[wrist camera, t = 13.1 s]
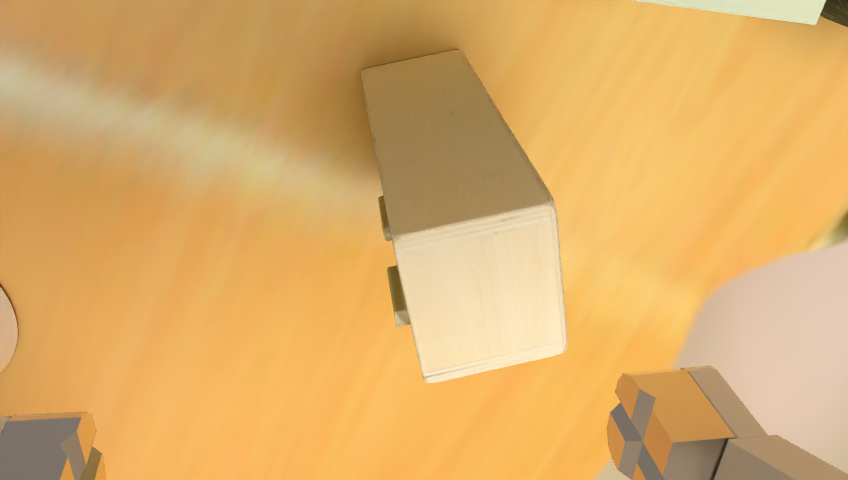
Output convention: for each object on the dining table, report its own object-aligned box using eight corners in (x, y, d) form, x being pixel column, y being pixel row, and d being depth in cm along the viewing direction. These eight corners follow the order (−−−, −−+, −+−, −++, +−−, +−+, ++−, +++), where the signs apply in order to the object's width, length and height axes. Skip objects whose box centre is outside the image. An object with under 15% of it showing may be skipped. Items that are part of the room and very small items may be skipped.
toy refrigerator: (345, 68, 45) (374, 242, 27) (460, 44, 45) (562, 201, 28) (371, 179, 49) (410, 393, 32) (476, 157, 50) (573, 356, 32)
